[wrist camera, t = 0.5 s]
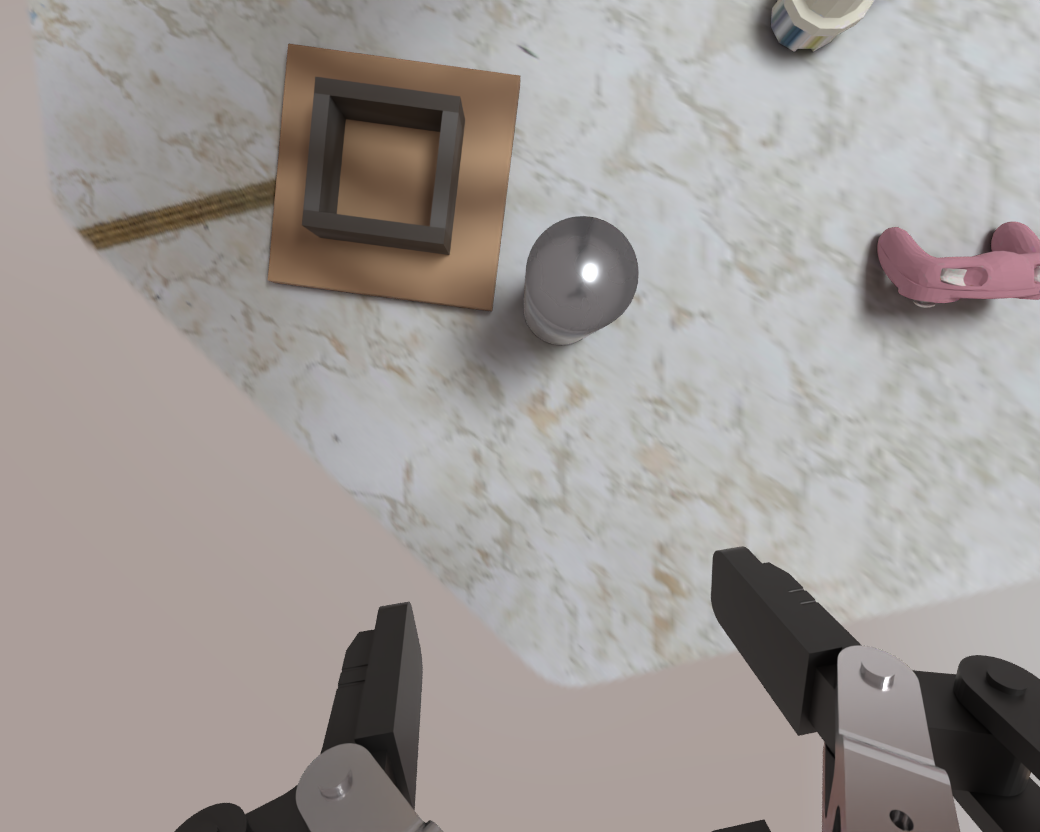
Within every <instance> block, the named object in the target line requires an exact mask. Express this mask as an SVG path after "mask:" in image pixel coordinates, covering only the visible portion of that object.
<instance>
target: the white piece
mask: <svg viewBox="0 0 1040 832" xmlns="http://www.w3.org/2000/svg"><path fill="white" fill-rule="evenodd" d="M873 1H874V0H778V1H777V2H776V4H775V5H774V7H773V8H772V17H771V28H772V30H773V32H774V34H775V36H776V38H777V40H778V42H779V43H780V44H782V45H784V46H785V47H787V48H789V49H790V50H792V51H794V52H795V51H796V50H797V49H812V51H813V52H814V51H816V50H817V49H819V48H821V47H823V46H824V45H826V44H828V43H830V42H831V41H832V40H833V39H834V38H835V37H836V36H837V35H838V34H840V33H842V32H844V31H845V30H847V29H849V28H851V27H853V26H854V25H856V24H857V23H858V22H859V21H860V20H861V19H862V18H863V17H864V15H865V14H866V12H867V11H868V9H869V8H870V6H871V4H872V3H873Z"/></svg>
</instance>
